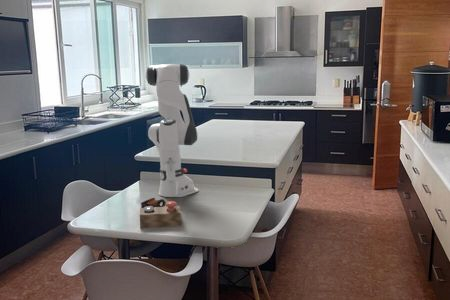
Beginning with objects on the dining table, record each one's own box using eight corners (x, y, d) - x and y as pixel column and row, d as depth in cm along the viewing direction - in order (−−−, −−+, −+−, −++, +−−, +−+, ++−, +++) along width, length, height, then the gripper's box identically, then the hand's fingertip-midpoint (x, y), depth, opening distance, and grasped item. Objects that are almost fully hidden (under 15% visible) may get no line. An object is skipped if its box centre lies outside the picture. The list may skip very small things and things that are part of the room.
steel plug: (154, 220, 213) (154, 206, 212) (154, 223, 209) (154, 209, 207) (144, 220, 212) (143, 206, 211) (144, 224, 208) (143, 209, 207)
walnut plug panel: (179, 218, 218) (179, 205, 216) (181, 225, 208) (180, 212, 207) (140, 220, 215) (140, 207, 214) (140, 227, 205) (139, 215, 204)
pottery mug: (146, 218, 219) (140, 202, 221) (144, 220, 228) (138, 205, 229) (169, 208, 224) (163, 192, 225) (166, 211, 232) (160, 196, 234)
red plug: (176, 215, 214) (175, 201, 213) (176, 218, 210) (176, 204, 208) (166, 215, 213) (165, 201, 212) (166, 219, 209) (166, 204, 208)
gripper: (178, 161, 197) (179, 192, 199) (175, 151, 216) (176, 179, 219) (162, 161, 196) (164, 193, 199) (162, 151, 215) (163, 180, 218)
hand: (171, 186), depth 209 cm, fingers closed
